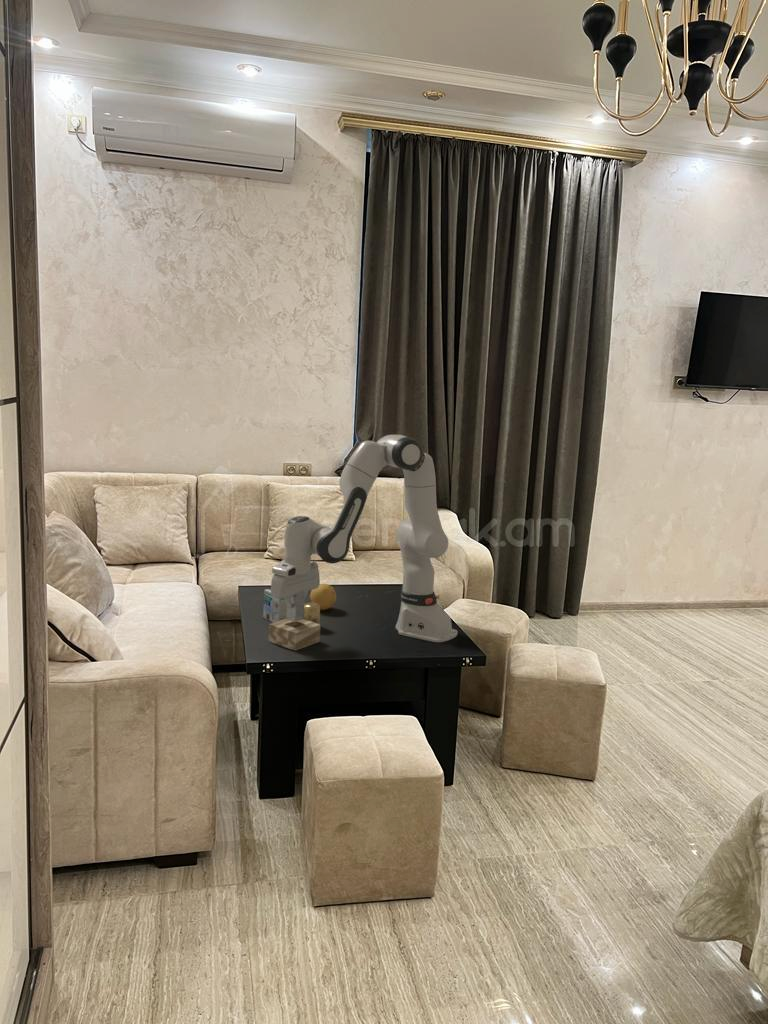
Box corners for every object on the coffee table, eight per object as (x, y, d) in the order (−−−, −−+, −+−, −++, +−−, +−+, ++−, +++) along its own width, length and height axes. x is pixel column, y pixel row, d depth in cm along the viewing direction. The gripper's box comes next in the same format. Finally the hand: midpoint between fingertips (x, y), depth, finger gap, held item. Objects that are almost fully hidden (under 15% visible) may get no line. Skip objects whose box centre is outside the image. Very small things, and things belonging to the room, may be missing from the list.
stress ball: (307, 610, 291) (307, 600, 282) (313, 587, 295) (314, 576, 287) (332, 616, 290) (333, 606, 282) (338, 593, 295) (339, 582, 287)
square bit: (303, 619, 253) (304, 590, 251) (295, 622, 250) (296, 592, 248) (294, 616, 255) (295, 588, 254) (286, 619, 252) (287, 590, 250)
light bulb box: (262, 617, 276) (263, 589, 274) (278, 614, 281) (279, 586, 279) (278, 626, 268) (279, 596, 266) (294, 622, 273) (295, 594, 271)
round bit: (322, 626, 270) (323, 605, 269) (311, 630, 265) (312, 608, 264) (310, 622, 273) (310, 601, 272) (298, 626, 269) (299, 605, 267)
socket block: (319, 641, 255) (320, 624, 254) (295, 650, 246) (295, 633, 245) (293, 632, 262) (294, 616, 261) (268, 641, 253) (269, 624, 252)
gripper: (310, 558, 259) (309, 597, 262) (268, 569, 243) (267, 610, 245) (324, 562, 256) (323, 601, 258) (282, 573, 239) (281, 614, 242)
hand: (295, 606), depth 252 cm, fingers closed on square bit, 4 cm apart
